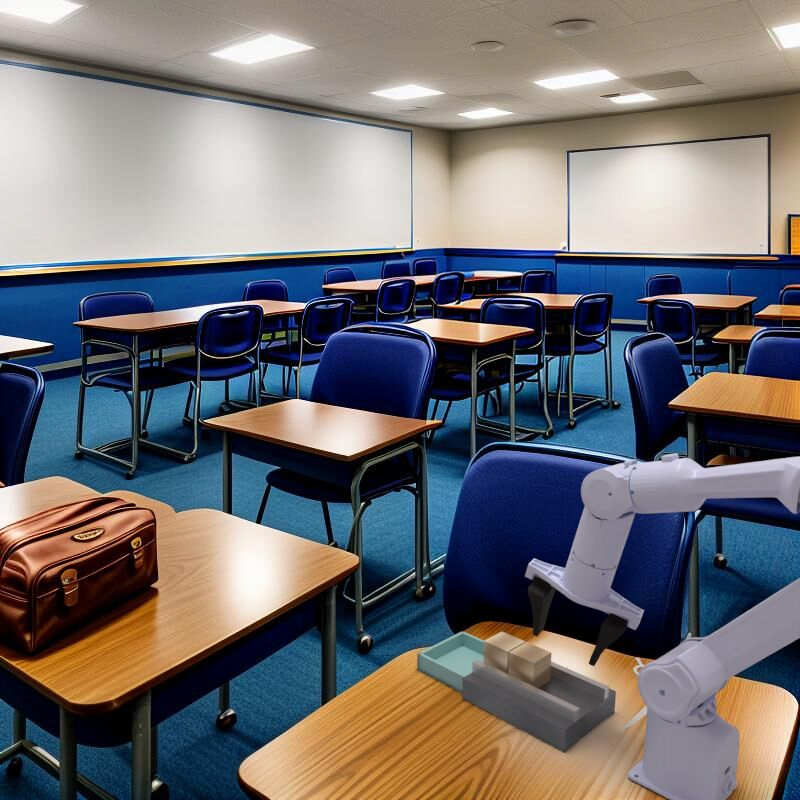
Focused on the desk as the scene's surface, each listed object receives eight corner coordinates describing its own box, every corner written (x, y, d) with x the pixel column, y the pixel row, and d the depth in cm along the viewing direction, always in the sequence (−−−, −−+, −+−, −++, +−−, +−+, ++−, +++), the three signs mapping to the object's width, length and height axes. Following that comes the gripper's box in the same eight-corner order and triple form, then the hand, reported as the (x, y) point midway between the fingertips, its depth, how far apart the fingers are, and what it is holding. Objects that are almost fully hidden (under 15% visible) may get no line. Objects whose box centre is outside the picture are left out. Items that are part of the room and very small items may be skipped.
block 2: (550, 680, 99) (551, 652, 99) (532, 691, 96) (534, 663, 96) (525, 669, 102) (526, 641, 101) (507, 679, 99) (508, 652, 99)
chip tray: (509, 668, 108) (510, 652, 108) (465, 694, 101) (465, 677, 101) (461, 646, 114) (462, 631, 114) (417, 669, 107) (417, 653, 107)
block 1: (524, 668, 102) (525, 641, 102) (506, 679, 99) (507, 651, 99) (500, 657, 105) (501, 631, 104) (483, 668, 102) (484, 640, 101)
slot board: (614, 712, 97) (616, 680, 97) (564, 752, 89) (566, 718, 88) (515, 666, 108) (516, 637, 108) (462, 698, 100) (463, 667, 99)
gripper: (661, 569, 90) (628, 658, 95) (551, 520, 96) (525, 606, 101) (646, 593, 84) (612, 687, 89) (530, 540, 90) (504, 630, 95)
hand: (565, 646), depth 94 cm, fingers open, 7 cm apart
